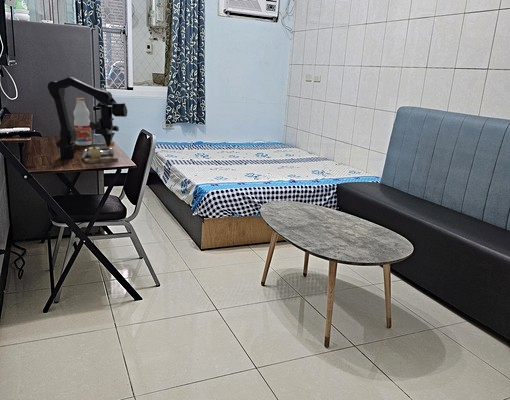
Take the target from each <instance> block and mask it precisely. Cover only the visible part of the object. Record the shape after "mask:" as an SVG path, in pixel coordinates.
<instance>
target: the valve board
mask: <svg viewBox="0 0 510 400" xmlns="http://www.w3.org/2000/svg"><path fill="white" fill-rule="evenodd" d="M82 154H83V155H81V160H82V161H83V162H84V163H85V164H98V163H110V162H111V163H112V162H119V158H118V157H117V156H116V155H114V154H115V152H114V149H113V148H112V147H109V148H108V150H101V149H100V148H99V147H96V146H91V147H88V149H83V153H82Z"/></svg>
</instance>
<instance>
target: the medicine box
mask: <svg viewBox="0 0 510 400" xmlns="http://www.w3.org/2000/svg"><path fill="white" fill-rule="evenodd" d="M92 143H106V141H105V139H104V137H103V136H102V135H100V134H95V133H93V134H92ZM96 147H99V148H100V150H105V149H109V148H110V147H105V146H96Z"/></svg>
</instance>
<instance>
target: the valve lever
mask: <svg viewBox="0 0 510 400" xmlns="http://www.w3.org/2000/svg"><path fill="white" fill-rule="evenodd" d="M90 146H91V147H93V146H105V147H108V146H107V144H106V143H93V142H92V144H91V145H90ZM112 147H115V142H112V141H111V143H110V146H109V148H112Z"/></svg>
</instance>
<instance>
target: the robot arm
mask: <svg viewBox="0 0 510 400" xmlns="http://www.w3.org/2000/svg"><path fill="white" fill-rule="evenodd" d="M46 87H47V90H48V93H49V95H50V96H51V98H53V100H54V105H55V108H56V112H57V113H56V114H57V117H58V122H59V125H60V131H59V138H60V139H58V141H57V142H56V143H55V145H56V147H57V148H58V152H59V153H58V154H59V156H58V157H59V159H60V160H67V159H74V158H75V151H74V150H75V149H74V148H73V145H74V143H76V136H77V135H76V130H75V128H72V126H71V123H70V119H69V116H68V112H67V111H68V110H67V106H66V102H65V94H66V92H65V90H66V89H68V88H69V87H72V88H75V89H77V90H79V91H82V92H83V93H86V94H88V95H90V96H91V97H92V98H94V99H95V100H96V101H98V103H97V104H96V105H95V107H96V108H99V111H100V118H98V121H96V122H95V121H90V125H89V127H90V128H91V131H94V134H100V135H102V136H103V137H104V139H105V141H106V144H107V146H108V147H109V146H110V143H111V142H112V141H113V138H114V135H115V134H116V132H119V131H120V129H119V128H120V127H119V126H118V125H114V123H113V121H114V120H115V118H114V117H119V118H121V117H122V118H123V117H124V118H126V117H127V116H128V108H127V105H126V103H124V102H123V103H117V101H116V100H115V99H114V98H113V94H112V93H111V91H107V90H104V89H101V88H97V87H95V86H92V85H90V84H88V83H85V82H83V81H81V80H79V79H77V78H75V77H73V76H68V77H66V78H63V79H60V80H55V81H53V80H52V81H49V82H48V84H47V86H46ZM113 116H114V117H113ZM109 148H110V147H109Z"/></svg>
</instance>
